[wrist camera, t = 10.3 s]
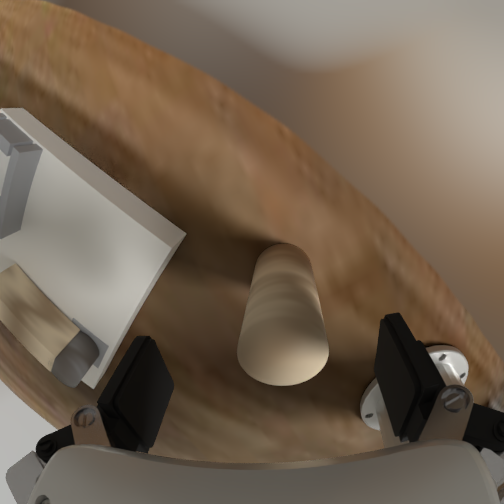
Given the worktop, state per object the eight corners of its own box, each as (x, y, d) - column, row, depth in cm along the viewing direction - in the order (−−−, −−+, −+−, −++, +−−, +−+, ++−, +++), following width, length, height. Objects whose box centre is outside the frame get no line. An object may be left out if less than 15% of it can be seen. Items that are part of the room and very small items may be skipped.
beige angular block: (103, 348, 21) (80, 378, 17) (94, 364, 22) (73, 392, 18) (15, 262, 19) (-13, 280, 15) (12, 284, 20) (-14, 302, 16)
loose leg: (323, 266, 20) (347, 348, 11) (287, 304, 21) (287, 396, 13) (278, 232, 19) (275, 300, 11) (243, 274, 20) (219, 358, 12)
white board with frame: (186, 233, 20) (156, 264, 15) (105, 371, 27) (83, 405, 21) (22, 108, 17) (-20, 109, 12) (-11, 261, 24) (-40, 279, 19)
